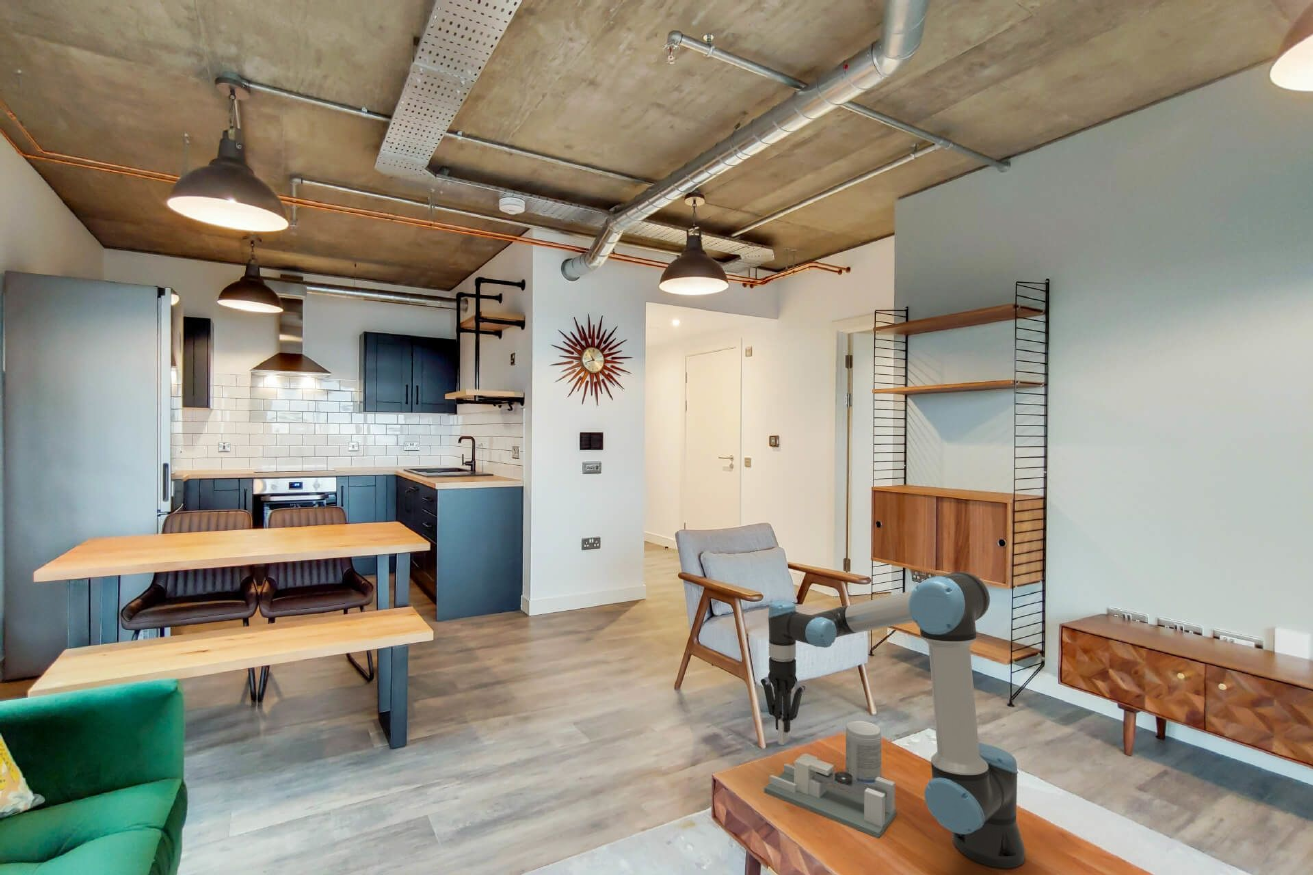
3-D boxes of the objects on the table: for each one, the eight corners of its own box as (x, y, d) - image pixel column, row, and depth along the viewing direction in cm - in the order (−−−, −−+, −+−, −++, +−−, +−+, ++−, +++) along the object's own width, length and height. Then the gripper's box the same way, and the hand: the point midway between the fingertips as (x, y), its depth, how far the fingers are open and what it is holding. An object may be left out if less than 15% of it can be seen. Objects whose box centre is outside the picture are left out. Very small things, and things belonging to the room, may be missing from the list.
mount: (896, 814, 164) (897, 781, 164) (878, 837, 154) (879, 802, 154) (786, 773, 183) (787, 743, 183) (764, 792, 173) (764, 760, 173)
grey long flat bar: (886, 796, 162) (887, 787, 162) (880, 804, 159) (880, 794, 159) (821, 772, 173) (822, 763, 173) (814, 778, 170) (814, 769, 170)
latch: (835, 791, 172) (835, 763, 172) (825, 801, 167) (826, 772, 167) (803, 780, 177) (804, 753, 177) (794, 789, 173) (794, 761, 173)
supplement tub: (887, 780, 180) (888, 728, 181) (870, 792, 174) (871, 738, 174) (855, 767, 187) (856, 717, 188) (838, 779, 181) (839, 726, 181)
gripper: (809, 658, 180) (810, 744, 179) (768, 650, 188) (768, 731, 187) (797, 665, 174) (798, 753, 173) (755, 656, 182) (755, 740, 181)
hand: (783, 742), depth 180 cm, fingers closed
